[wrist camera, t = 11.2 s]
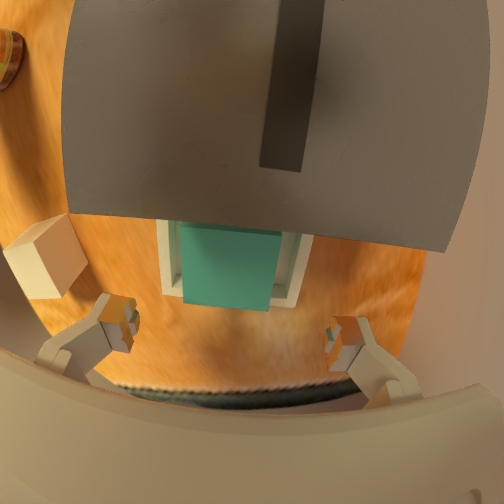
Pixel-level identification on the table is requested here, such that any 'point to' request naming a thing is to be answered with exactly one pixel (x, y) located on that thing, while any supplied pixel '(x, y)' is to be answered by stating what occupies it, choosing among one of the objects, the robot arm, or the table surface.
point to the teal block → (228, 265)
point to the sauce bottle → (9, 56)
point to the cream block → (46, 258)
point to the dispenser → (277, 114)
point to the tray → (286, 275)
